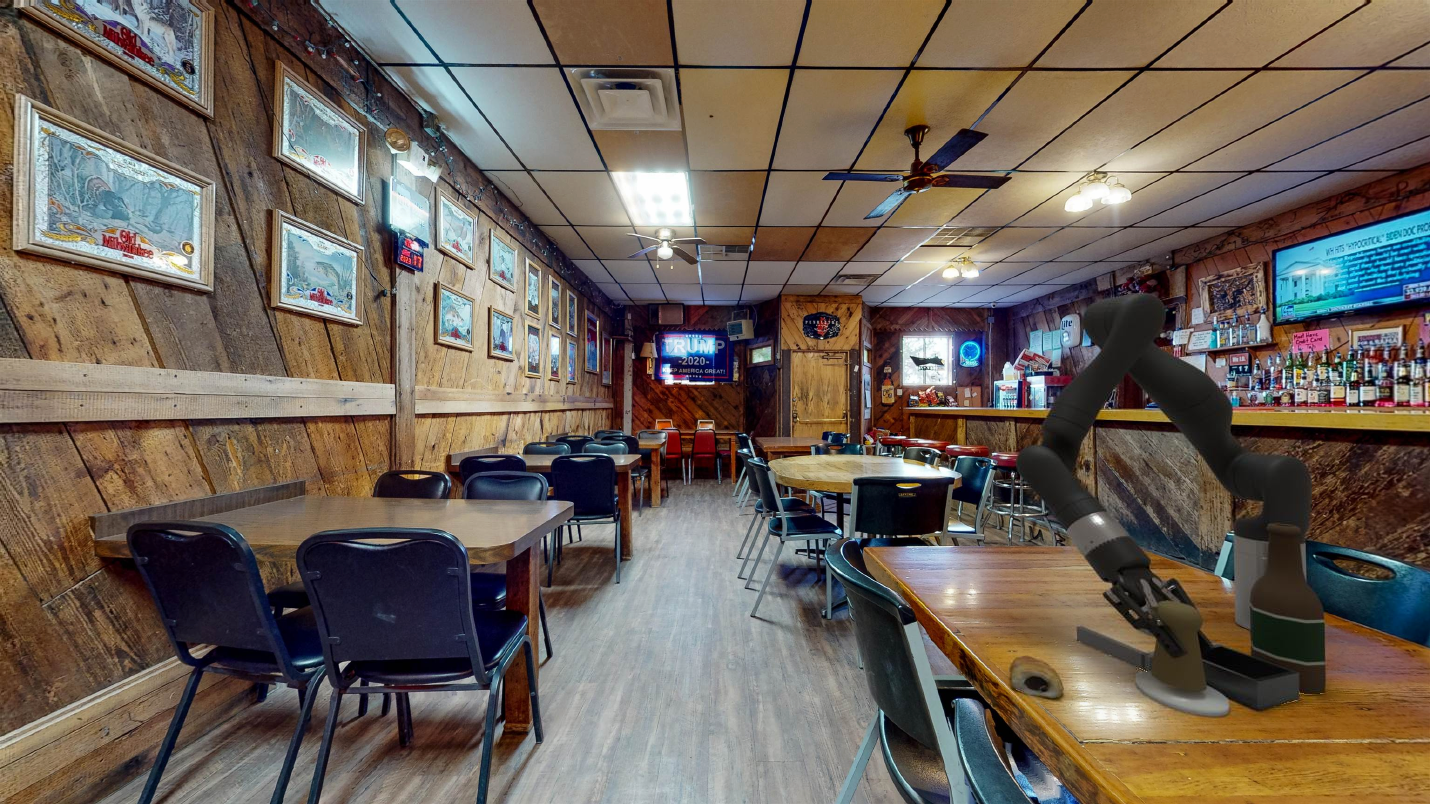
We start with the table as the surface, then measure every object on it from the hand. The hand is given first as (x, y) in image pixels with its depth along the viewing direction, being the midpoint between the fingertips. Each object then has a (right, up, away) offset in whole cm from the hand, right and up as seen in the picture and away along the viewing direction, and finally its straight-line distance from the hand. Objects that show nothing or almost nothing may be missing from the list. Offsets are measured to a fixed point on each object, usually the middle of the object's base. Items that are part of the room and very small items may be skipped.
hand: (1193, 652), depth 71 cm
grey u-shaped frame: (+7, -7, +16) cm, 19 cm away
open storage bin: (+10, -7, +4) cm, 13 cm away
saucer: (-1, -7, +2) cm, 7 cm away
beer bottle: (+19, -7, +5) cm, 21 cm away
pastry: (-20, -8, +5) cm, 22 cm away
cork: (-1, -5, +2) cm, 5 cm away
